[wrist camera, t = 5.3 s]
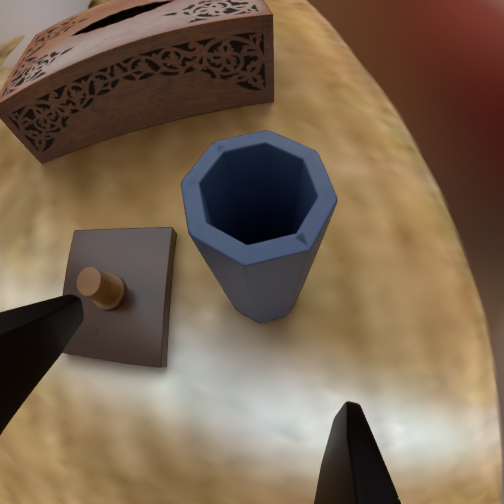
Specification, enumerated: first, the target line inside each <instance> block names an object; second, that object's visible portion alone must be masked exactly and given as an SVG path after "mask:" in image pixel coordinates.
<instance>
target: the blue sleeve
mask: <svg viewBox="0 0 504 504" xmlns="http://www.w3.org/2000/svg"><path fill="white" fill-rule="evenodd" d="M181 189H182V196H183V202H184V209H185V215H186V221H187V227H188V233H189V235H190V237H191V238H192V240H193V241H194V243H195V245H196V246H197V248H198V250H199V251H200V253H201V255H202V256H203V258H204V260H205V261H206V263H207V264H208V266H209V268H210V269H211V271H212V272H213V274H214V276H215V277H216V279H217V281H218V282H219V284H220V285H221V287H222V288H223V290H224V292H225V293H226V295H227V296H228V298H229V300H230V301H231V303H232V304H233V306H234V307H235V309H236V310H238V311H239V312H241V313H243V314H244V315H246V316H248V317H249V318H251V319H253V320H254V321H256V322H258V323H262V322H266V321H270V320H274V319H278V318H282V317H286V316H287V314H288V313H289V311H290V309H291V308H292V306H293V304H294V302H295V301H296V299H297V297H298V296H299V294H300V292H301V289H302V287H303V285H304V282H305V280H306V278H307V275H308V273H309V271H310V268H311V266H312V264H313V261H314V259H315V256H316V254H317V252H318V249H319V247H320V244H321V242H322V239H323V237H324V234H325V232H326V229H327V227H328V224H329V222H330V219H331V217H332V214H333V212H334V209H335V206H336V204H337V196H336V194H335V191H334V189H333V186H332V184H331V182H330V179H329V177H328V175H327V172H326V170H325V168H324V165H323V163H322V161H321V158H320V156H319V154H318V153H317V152H316V151H315V150H313V149H311V148H309V147H306V146H304V145H302V144H300V143H297V142H295V141H293V140H291V139H288V138H286V137H284V136H281V135H279V134H276V133H274V132H272V131H267V130H265V131H260V132H255V133H250V134H245V135H241V136H236V137H232V138H227V139H223V140H219V141H216V142H214V143H213V144H212V145H211V146H210V147H209V148H208V150H207V151H206V152H205V153H204V154H203V156H202V157H201V158H200V159H199V160H198V162H197V163H196V164H195V165H194V166H193V168H192V169H191V170H190V171H189V173H188V174H187V175H186V176H185V178H184V179H183V180H182V183H181Z"/></svg>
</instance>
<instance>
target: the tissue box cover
mask: <svg viewBox="0 0 504 504" xmlns="http://www.w3.org/2000/svg"><path fill="white" fill-rule="evenodd" d="M267 102H274V50H273V14H272V12H271V11H270V9H269V8H268V6H267V4H266V3H265V1H264V0H110V1H108V2H105V3H103V4H100V5H97V6H95V7H92V8H90V9H88V10H85V11H83V12H81V13H79V14H77V15H74V16H72V17H70V18H68V19H66V20H64V21H62V22H59V23H57V24H56V25H53V26H51V27H50V28H48V29H46V30H44V31H42V32H40V33H39V34H37V35H35V37H34V38H33V40H32V41H31V42H30V44H29V45H28V47H27V48H26V50H25V51H24V53H23V54H22V56H21V57H20V59H19V61H18V62H17V64H16V65H15V67H14V69H13V70H12V72H11V74H10V75H9V77H8V79H7V81H6V82H5V84H4V86H3V88H2V90H1V92H0V118H1V120H2V121H3V122H4V123H5V124H6V125H7V127H8V128H9V129H10V130H11V131H12V132H13V133H14V134H15V136H16V137H17V138H18V139H19V140H20V141H21V142H22V143H23V144H24V146H25V147H26V148H27V149H28V150H29V151H30V152H31V153H32V154H33V155H34V156H35V157H36V158H37V160H38V161H39V162H40V163H41V164H43V163H45V162H47V161H50V160H52V159H55V158H57V157H60V156H62V155H65V154H67V153H70V152H73V151H75V150H78V149H81V148H84V147H86V146H89V145H92V144H95V143H98V142H101V141H104V140H107V139H110V138H113V137H116V136H119V135H123V134H126V133H129V132H132V131H136V130H139V129H143V128H146V127H150V126H154V125H158V124H161V123H165V122H169V121H173V120H177V119H182V118H186V117H190V116H195V115H199V114H204V113H209V112H214V111H219V110H224V109H230V108H235V107H241V106H247V105H253V104H260V103H267Z"/></svg>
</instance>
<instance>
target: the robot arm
mask: <svg viewBox="0 0 504 504" xmlns="http://www.w3.org/2000/svg"><path fill="white" fill-rule="evenodd" d="M83 320H84V311H83V305H82V300H81V298H79V297H77V296H76V295H74V294H68V295H64V296H60V297H57V298H53V299H49V300H45V301H41V302H38V303H34V304H30V305H26V306H22V307H19V308H15V309H11V310H7V311H4V312H0V435H1V433H2V432H3V430H4V429H5V427H6V426H7V424H8V423H9V422H10V420H11V419H12V417H13V416H14V415H15V413H16V412H17V411H18V409H19V408H20V407H21V405H22V404H23V402H24V401H25V400H26V398H27V397H28V396H29V394H30V393H31V392H32V391H33V389H34V388H35V387H36V385H37V384H38V383H39V381H40V380H41V379H42V378H43V376H44V375H45V374H46V373H47V371H48V370H49V369H50V368H51V366H52V365H53V364H54V363H55V361H56V360H57V359H58V358H59V356H60V355H61V354H62V352H63V351H64V349H65V348H66V346H67V345H68V343H69V342H70V340H71V339H72V337H73V336H74V334H75V333H76V331H77V330H78V329H79V327H80V326H81V324H82V323H83ZM314 504H401V502H400V500H399V499H398V495H397V492H396V490H395V487H394V485H393V482H392V480H391V477H390V475H389V472H388V470H387V467H386V465H385V462H384V460H383V458H382V455H381V453H380V450H379V448H378V446H377V443H376V441H375V438H374V436H373V434H372V431H371V429H370V427H369V424H368V422H367V420H366V417H365V415H364V413H363V410H362V408H361V406H360V405H359V404H358V403H354V402H350V401H347V402H345V404H344V405H343V406H342V408H341V409H340V410H339V412H338V413H337V415H336V416H335V418H334V421H333V424H332V428H331V431H330V435H329V439H328V443H327V446H326V450H325V453H324V457H323V460H322V464H321V469H320V474H319V480H318V485H317V491H316V496H315V501H314Z"/></svg>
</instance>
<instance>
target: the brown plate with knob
mask: <svg viewBox="0 0 504 504" xmlns="http://www.w3.org/2000/svg"><path fill="white" fill-rule="evenodd" d="M176 236H177V233H176V232H175V230H174V229H173V227H160V228H126V229H98V230H75V231H74V234H73V239H72V243H71V248H70V253H69V259H68V264H67V270H66V276H65V282H64V288H63V295H62V296H64V295H68V294H74V295H76V296H77V297H79V298H81V300H82V305H83V311H84V320H83V323H82V324H81V326H80V327H79V329H78V330H77V331H76V333H75V334H74V336H73V337H72V339H71V340H70V342H69V343H68V345H67V346H66V348H65V349H64V351H63V352H62V353H67V354H72V355H77V356H82V357H88V358H94V359H100V360H106V361H113V362H120V363H127V364H135V365H143V366H151V367H167V349H168V329H169V313H170V299H171V287H172V275H173V264H174V254H175V245H176Z"/></svg>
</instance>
